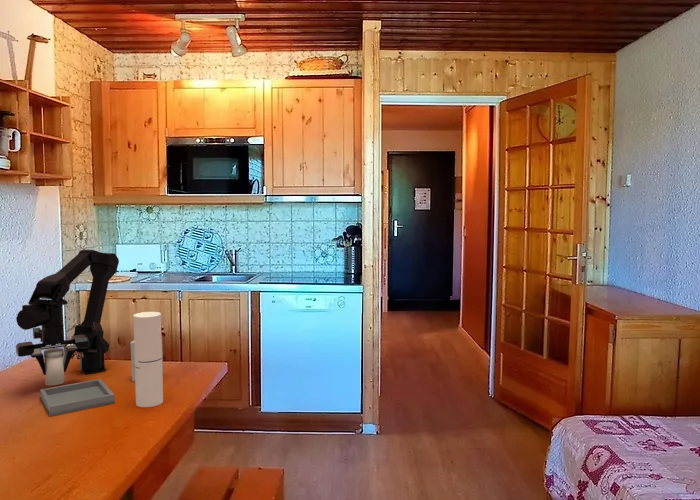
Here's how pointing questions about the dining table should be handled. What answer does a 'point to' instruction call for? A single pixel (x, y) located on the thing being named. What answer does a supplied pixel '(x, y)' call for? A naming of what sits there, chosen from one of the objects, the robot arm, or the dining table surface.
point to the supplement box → (134, 361)
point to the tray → (76, 397)
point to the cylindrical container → (148, 359)
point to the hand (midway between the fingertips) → (54, 373)
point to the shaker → (54, 366)
